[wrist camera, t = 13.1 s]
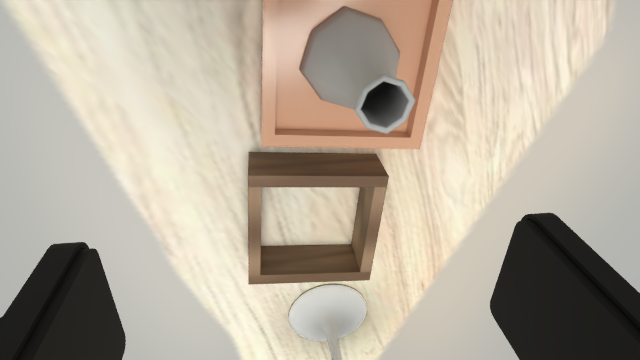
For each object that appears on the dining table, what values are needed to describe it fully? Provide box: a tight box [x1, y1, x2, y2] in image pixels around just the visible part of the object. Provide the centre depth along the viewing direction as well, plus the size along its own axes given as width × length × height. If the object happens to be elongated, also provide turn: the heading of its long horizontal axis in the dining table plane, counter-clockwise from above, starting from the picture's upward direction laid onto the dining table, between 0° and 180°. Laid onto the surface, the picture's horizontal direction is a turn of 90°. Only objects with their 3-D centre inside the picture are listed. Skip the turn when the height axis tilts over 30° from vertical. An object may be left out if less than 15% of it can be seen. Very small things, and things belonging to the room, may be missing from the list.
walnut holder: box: [248, 152, 389, 284], centre depth 36 cm, size 11×11×4 cm
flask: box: [299, 6, 416, 134], centre depth 26 cm, size 7×7×10 cm
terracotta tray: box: [261, 0, 453, 149], centre depth 31 cm, size 13×13×2 cm
